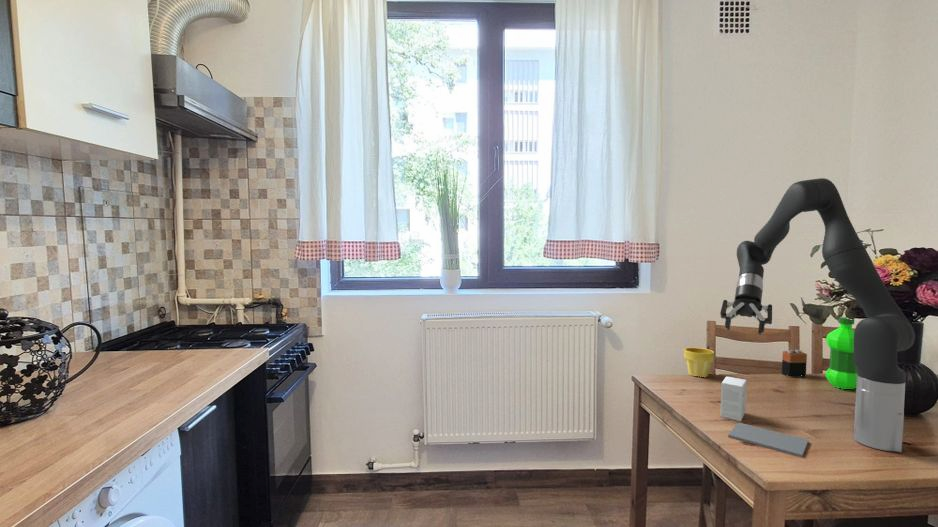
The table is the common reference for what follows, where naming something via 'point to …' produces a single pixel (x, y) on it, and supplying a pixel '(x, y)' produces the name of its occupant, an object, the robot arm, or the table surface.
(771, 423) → the table surface
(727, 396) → the small box
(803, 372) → the battery
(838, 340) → the plastic bottle
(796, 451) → the mat
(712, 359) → the plant pot
